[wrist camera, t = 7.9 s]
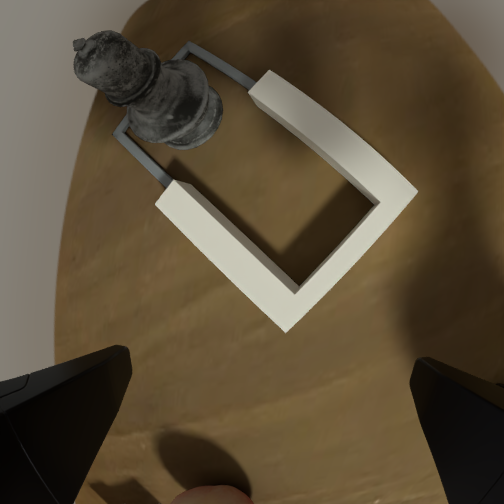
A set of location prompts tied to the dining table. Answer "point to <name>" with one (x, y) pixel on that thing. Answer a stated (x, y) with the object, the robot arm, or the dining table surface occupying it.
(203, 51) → the frame
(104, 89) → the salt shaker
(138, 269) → the dining table surface
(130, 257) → the dining table surface
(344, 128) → the u-shaped bracket
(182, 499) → the fruit
